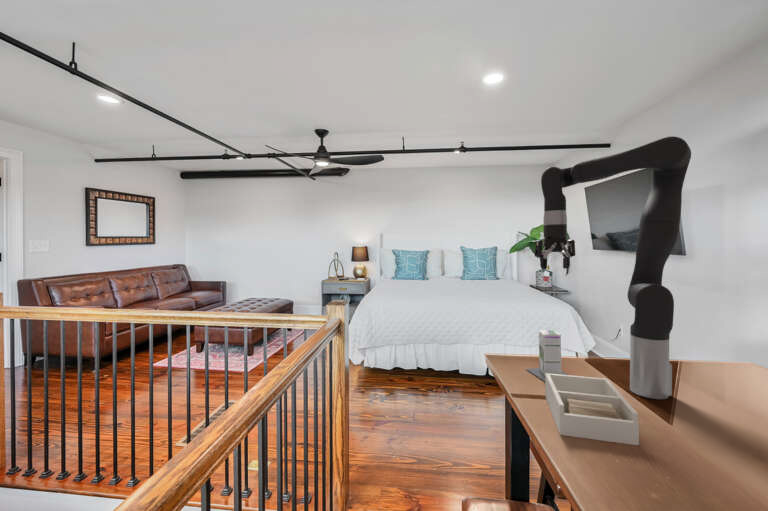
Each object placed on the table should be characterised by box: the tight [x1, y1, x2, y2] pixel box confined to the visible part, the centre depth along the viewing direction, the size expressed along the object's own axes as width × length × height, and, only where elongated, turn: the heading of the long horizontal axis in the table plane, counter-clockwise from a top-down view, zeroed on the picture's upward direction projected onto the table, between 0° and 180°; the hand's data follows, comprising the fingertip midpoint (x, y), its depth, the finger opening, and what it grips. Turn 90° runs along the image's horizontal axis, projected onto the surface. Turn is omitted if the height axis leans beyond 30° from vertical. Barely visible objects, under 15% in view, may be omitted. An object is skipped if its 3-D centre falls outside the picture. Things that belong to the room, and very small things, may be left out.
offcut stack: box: [567, 399, 623, 420], centre depth 82 cm, size 5×12×6 cm, turn 73°
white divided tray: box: [544, 373, 640, 446], centre depth 88 cm, size 21×16×7 cm
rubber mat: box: [525, 367, 569, 383], centre depth 117 cm, size 11×11×1 cm
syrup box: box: [538, 329, 562, 376], centre depth 117 cm, size 6×6×14 cm
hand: (555, 268), depth 122 cm, fingers open, 8 cm apart
